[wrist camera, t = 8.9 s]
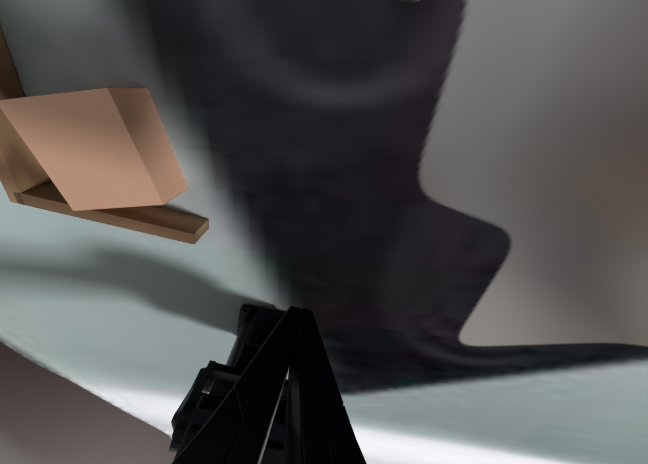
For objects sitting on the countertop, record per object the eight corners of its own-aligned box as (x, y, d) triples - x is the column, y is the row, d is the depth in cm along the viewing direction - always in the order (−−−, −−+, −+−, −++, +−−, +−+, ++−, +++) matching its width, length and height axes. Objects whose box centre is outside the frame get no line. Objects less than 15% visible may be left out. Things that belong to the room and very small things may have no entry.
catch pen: (208, 228, 21) (194, 244, 19) (46, 189, 20) (10, 201, 18) (210, -66, 12) (183, -100, 10) (-94, -176, 10) (-204, -245, 8)
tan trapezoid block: (190, 187, 19) (163, 204, 16) (112, 192, 20) (73, 210, 17) (150, 88, 16) (107, 87, 13) (57, 99, 16) (-5, 100, 13)
